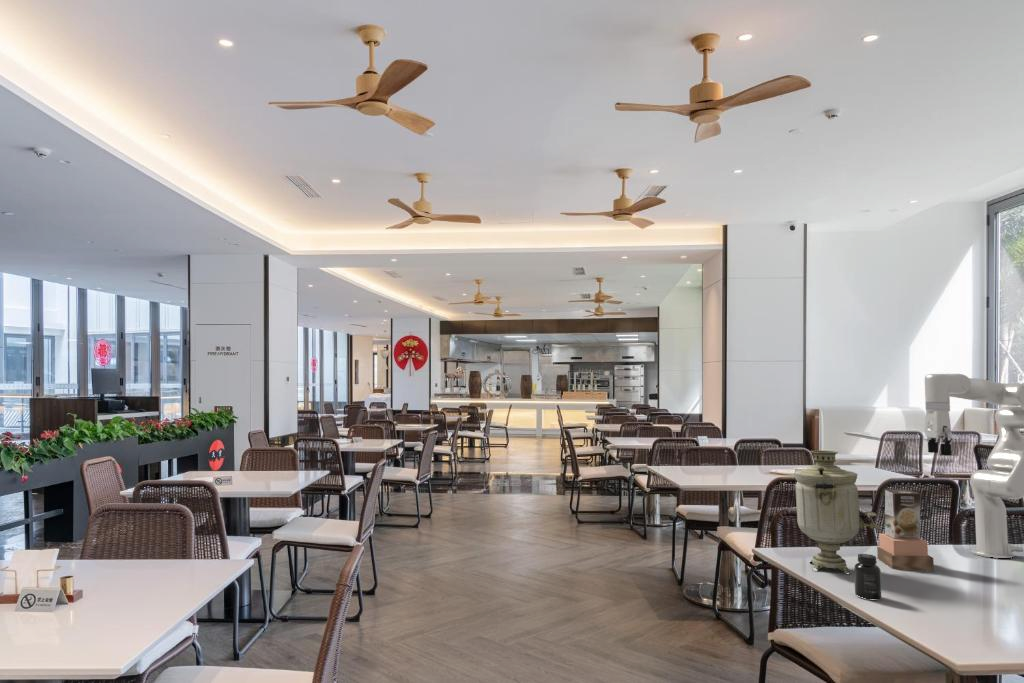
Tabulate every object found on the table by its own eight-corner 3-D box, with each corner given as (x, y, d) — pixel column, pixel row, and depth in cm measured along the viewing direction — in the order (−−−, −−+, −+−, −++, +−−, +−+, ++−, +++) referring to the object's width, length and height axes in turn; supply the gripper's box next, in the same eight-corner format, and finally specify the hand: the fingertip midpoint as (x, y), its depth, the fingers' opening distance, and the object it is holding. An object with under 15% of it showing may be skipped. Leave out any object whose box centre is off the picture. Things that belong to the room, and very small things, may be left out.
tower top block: (911, 548, 229) (911, 534, 230) (927, 556, 218) (927, 541, 219) (879, 547, 231) (878, 533, 231) (894, 555, 220) (893, 540, 220)
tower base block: (916, 562, 229) (916, 548, 230) (933, 572, 216) (933, 557, 217) (877, 560, 231) (877, 546, 232) (892, 570, 219) (892, 555, 219)
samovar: (868, 588, 196) (865, 458, 199) (782, 571, 214) (779, 452, 217) (891, 569, 218) (887, 452, 221) (811, 555, 236) (808, 446, 239)
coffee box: (894, 539, 222) (893, 493, 222) (884, 533, 229) (884, 489, 229) (921, 539, 222) (920, 493, 222) (910, 534, 228) (910, 489, 228)
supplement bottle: (886, 598, 187) (884, 556, 188) (873, 602, 184) (872, 559, 184) (863, 591, 193) (861, 551, 194) (850, 595, 189) (849, 554, 190)
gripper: (916, 406, 244) (917, 451, 243) (937, 407, 227) (939, 456, 226) (937, 406, 243) (939, 451, 241) (961, 408, 226) (963, 456, 224)
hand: (939, 453), depth 234 cm, fingers open, 9 cm apart
